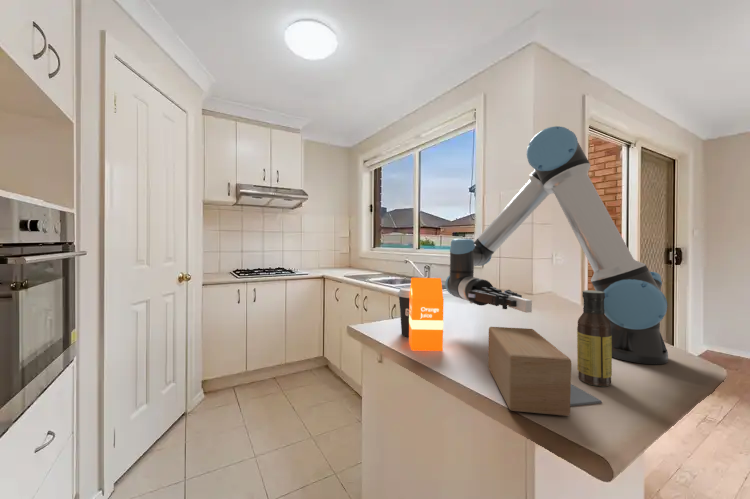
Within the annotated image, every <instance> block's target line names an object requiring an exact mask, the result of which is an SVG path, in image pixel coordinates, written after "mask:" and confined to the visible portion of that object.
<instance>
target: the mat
mask: <svg viewBox="0 0 750 499" xmlns="http://www.w3.org/2000/svg"><path fill="white" fill-rule="evenodd" d="M602 403H603V401H602V400H601V399H599V398H598V397H596V396H594V395H592V394H590V393H589V392H586V391H585V390H583V389H581V388H579V387H577V386H575V385H574V384H572V383H571V393H570V407H574V406H584V405H595V404H602Z"/></svg>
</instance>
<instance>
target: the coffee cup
mask: <svg viewBox="0 0 750 499" xmlns="http://www.w3.org/2000/svg"><path fill="white" fill-rule="evenodd" d="M410 287H411V286H408V287H401V288H400V289H399V291H398V293H397V297H398V300H399V302H398V303H399V312H400V313H399V314H400V330H401V336H402V337H404V338H405V337H406V338H409V303H410Z"/></svg>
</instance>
